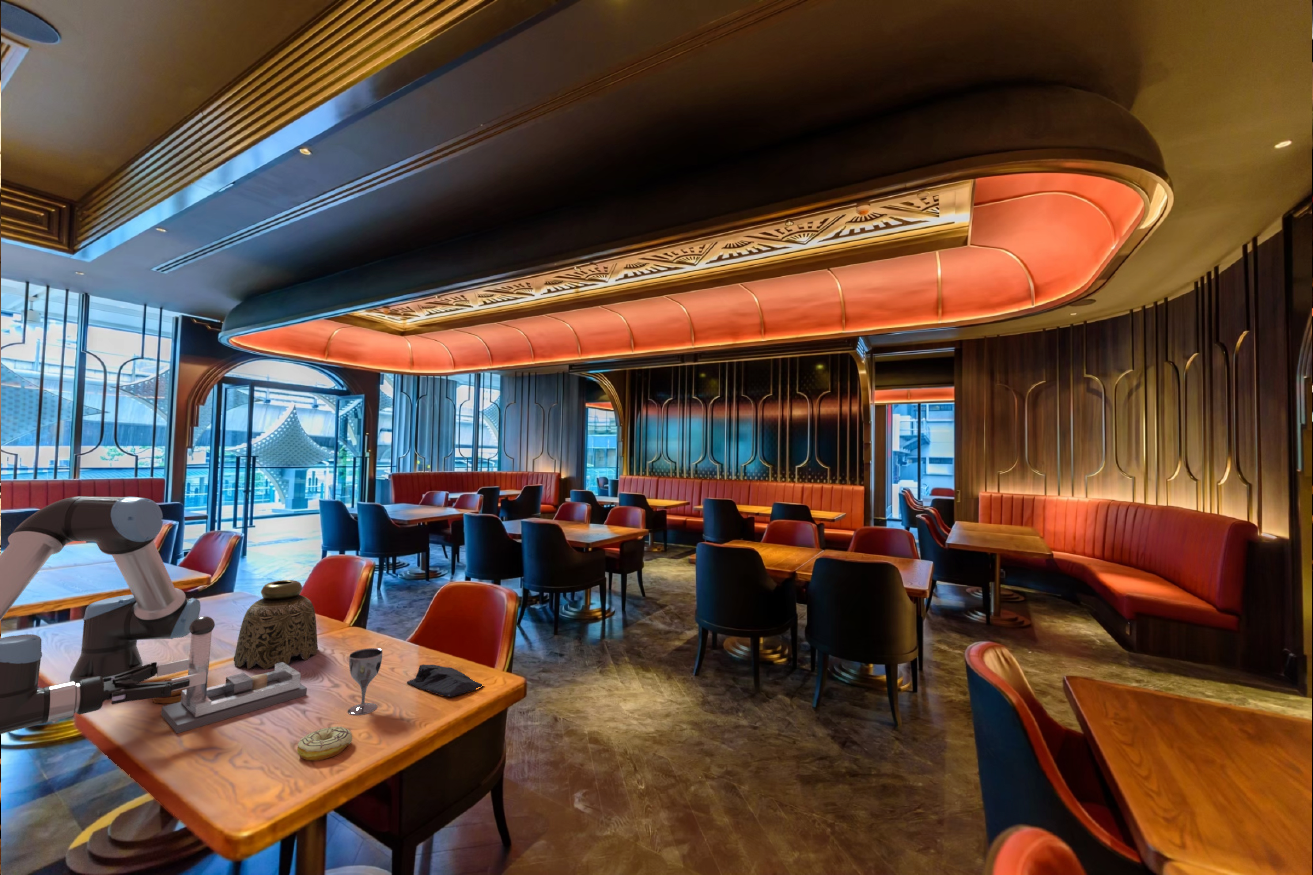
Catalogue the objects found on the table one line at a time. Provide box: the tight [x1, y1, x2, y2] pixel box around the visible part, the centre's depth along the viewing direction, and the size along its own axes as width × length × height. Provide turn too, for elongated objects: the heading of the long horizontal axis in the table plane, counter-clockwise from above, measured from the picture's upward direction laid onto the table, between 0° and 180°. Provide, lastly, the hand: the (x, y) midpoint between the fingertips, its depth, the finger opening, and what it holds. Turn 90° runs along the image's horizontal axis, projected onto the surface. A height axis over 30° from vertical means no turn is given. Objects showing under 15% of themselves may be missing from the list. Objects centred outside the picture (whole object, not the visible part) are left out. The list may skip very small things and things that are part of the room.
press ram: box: [181, 615, 302, 717], centre depth 144 cm, size 13×24×23 cm, turn 144°
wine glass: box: [347, 647, 383, 716], centre depth 143 cm, size 8×8×15 cm
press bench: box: [160, 680, 308, 734], centre depth 142 cm, size 15×28×2 cm, turn 144°
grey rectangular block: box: [225, 672, 253, 698], centre depth 143 cm, size 7×4×5 cm, turn 54°
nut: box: [249, 673, 268, 691], centre depth 146 cm, size 4×4×4 cm
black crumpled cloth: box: [406, 663, 483, 698], centre depth 160 cm, size 15×22×5 cm
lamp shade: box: [233, 579, 319, 670], centre depth 178 cm, size 23×23×25 cm
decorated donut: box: [296, 725, 353, 762], centre depth 122 cm, size 10×11×4 cm
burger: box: [152, 678, 187, 705], centre depth 145 cm, size 10×9×5 cm
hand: (198, 670), depth 135 cm, fingers open, 13 cm apart
